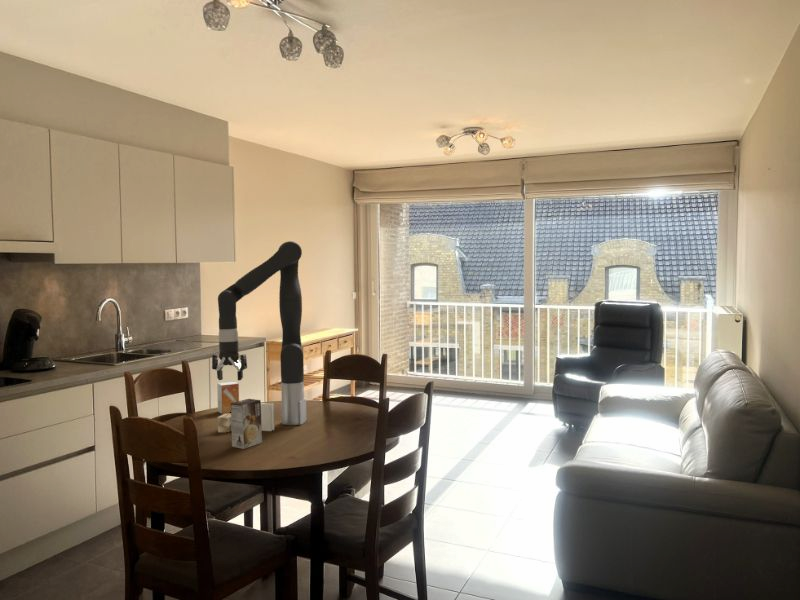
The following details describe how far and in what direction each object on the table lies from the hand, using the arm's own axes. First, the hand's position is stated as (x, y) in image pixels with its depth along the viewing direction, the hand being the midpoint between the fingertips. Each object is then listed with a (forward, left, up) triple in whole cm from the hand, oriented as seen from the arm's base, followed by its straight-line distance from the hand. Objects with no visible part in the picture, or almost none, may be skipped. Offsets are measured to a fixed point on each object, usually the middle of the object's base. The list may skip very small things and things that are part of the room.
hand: (230, 380), depth 248 cm
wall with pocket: (-14, 0, -20) cm, 24 cm away
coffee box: (-18, +21, -20) cm, 34 cm away
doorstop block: (0, +3, -20) cm, 20 cm away
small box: (+17, -27, -20) cm, 37 cm away
